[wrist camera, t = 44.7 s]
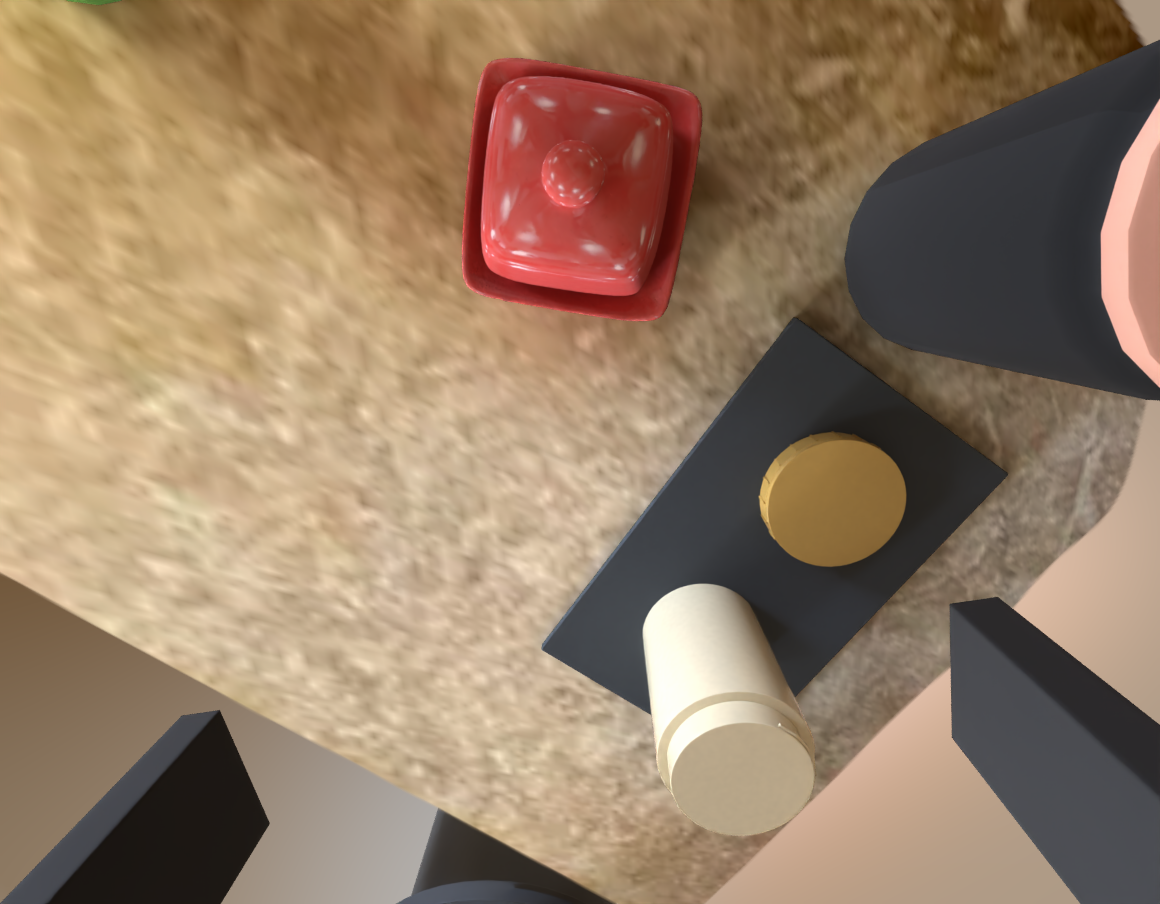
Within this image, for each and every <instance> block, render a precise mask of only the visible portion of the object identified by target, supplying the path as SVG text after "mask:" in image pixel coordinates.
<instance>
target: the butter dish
mask: <svg viewBox="0 0 1160 904" xmlns="http://www.w3.org/2000/svg"><path fill="white" fill-rule="evenodd" d="M701 127H702V108H701V104H700V102H699V100H698V98H697V96H695V95H694V94H693V93H692V92H690V91H687V90H685V89H682V88H679V87H675V86H671V85H666V84H661V83H658V82H654V81H649V80H644V79H638V78H634V77H629V76H623V75H618V74H612V73H608V72H602V71H597V70H591V69H585V68H579V67H574V66H568V65H563V64H557V63H550V62H546V61H539V60H531V59H523V58H503V59H497V60H494V61H491V62H490V63H488V64H487V66H486V67H485V68H484V70H483V72H482V74H481V78H480V81H479V86H478V93H477V96H476V102H475V111H474V118H473V126H472V135H471V145H470V155H469V163H468V175H467V186H466V196H465V208H464V223H463V234H462V236H463V240H462V271H463V277H464V280H465V283H466V285H467V286H468V287H469V288H470V289H471V290H473V291H474V292H476V293H478V294H480V295H483V296H487V297H491V298H498V299H502V300H504V301H509V302H515V303H521V304H525V305H532V306H537V307H543V308H549V309H554V310H560V311H567V312H572V313H580V314H584V315H591V316H597V317H604V318H611V319H618V320H629V321H649V320H655V319H657V318H659V317H661V316H662V315H663V314H664V312H665V310H666V309H667V307H668V304H669V301H670V297H671V293H672V289H673V285H674V281H675V275H676V271H677V267H678V262H679V256H680V250H681V246H682V241H683V235H684V230H685V225H686V220H687V215H688V211H689V203H690V199H691V193H692V188H693V183H694V177H695V170H696V165H697V159H698V152H699V146H700V138H701Z"/></svg>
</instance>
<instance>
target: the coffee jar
mask: <svg viewBox="0 0 1160 904" xmlns="http://www.w3.org/2000/svg"><path fill="white" fill-rule="evenodd" d="M845 266H846V274H847V282H848V289H849V292H850V294H851V296H852V298H853V300H854V302H855V304H856V306H857V308H858V310H859V312H860V314H861V316H862V318H863V319H864V320H865V321H866V322H867V323H868V324H869V325H870V326H871V327H872V328H874V329H875V330H876V331H877V332H878V333H879V334H880V335H881V336H882V337H883V338H885V339H887V340H890V341H892V342H894V343H897V344H899V345H902V346H904V347H907V348H909V349H911V350H916V351H921V352H925V353H930V354H935V355H939V356H944V357H949V358H953V359H958V360H963V361H967V362H972V363H977V364H982V365H986V366H991V367H996V368H1000V369H1005V370H1010V371H1014V372H1019V373H1024V374H1028V375H1033V376H1038V377H1043V378H1047V379H1052V380H1057V381H1061V382H1066V383H1071V384H1075V385H1080V386H1085V387H1089V388H1094V389H1099V390H1103V391H1108V392H1113V393H1118V394H1122V395H1127V396H1132V397H1136V398H1141V399H1146V400H1160V40H1158V41H1156V42H1154V43H1151V44H1149V45H1147V46H1144V47H1142V48H1140V49H1138V50H1135V51H1133V52H1131V53H1128V54H1126V55H1124V56H1122V57H1119V58H1117V59H1115V60H1112V61H1110V62H1108V63H1105V64H1103V65H1101V66H1099V67H1096V68H1094V69H1092V70H1089V71H1087V72H1085V73H1083V74H1080V75H1078V76H1076V77H1073V78H1071V79H1069V80H1067V81H1064V82H1062V83H1060V84H1057V85H1055V86H1053V87H1050V88H1048V89H1046V90H1044V91H1041V92H1039V93H1037V94H1034V95H1032V96H1030V97H1028V98H1025V99H1023V100H1021V101H1018V102H1016V103H1014V104H1011V105H1009V106H1007V107H1005V108H1002V109H1000V110H998V111H995V112H993V113H991V114H989V115H986V116H984V117H982V118H979V119H977V120H975V121H973V122H970V123H968V124H966V125H963V126H961V127H959V128H956V129H954V130H952V131H950V132H947V133H945V134H943V135H940V136H938V137H936V138H934V139H931V140H929V141H927V142H924V143H923V144H921V145H920V146H918V147H916V148H915V149H913V150H912V151H910V152H909V153H907V154H906V155H904V156H902V157H901V158H899V159H898V160H896V161H895V162H893V163H892V164H891V165H890V166H889V167H888V168H887V169H886V171H885V172H884V173H883V174H882V175H881V176H880V177H879V178H878V180H877V181H876V182H875V183H874V184H873V185H872V186H871V187H870V189H869V190H868V191H867V192H866V194H865V196H864V198H863V200H862V202H861V204H860V206H859V209H858V211H857V213H856V215H855V217H854V219H853V221H852V223H851V225H850V231H849V236H848V242H847V248H846V253H845Z"/></svg>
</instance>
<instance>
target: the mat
mask: <svg viewBox="0 0 1160 904" xmlns="http://www.w3.org/2000/svg"><path fill="white" fill-rule="evenodd" d="M831 431H834V432H839V433H846V434H850V435H852V434H855V435H857V436H858V437H860V438H862V439H864V440H865V441H867V442H869V443H873V444H875V445H876V446H878V447H880V448H881V450H882V451H884V452H885V453H886V454H887V455H888V456H889V457H891V459H892V460H893V461H894V462H895V463H896V465H897V466H898V468H899V470H900V471H901V474H902V476H903V479H904V482H905V487H906V505H905V511H904V514H903V517H902V520H901V522H900V524H899V526H898V528H897V529H896V531H895V532H894V534H893V535H892V536H891V538H890V539H889V540H888V541H887V542H886V543H885V544H884V545H883V546H882V547H881V548H880V549H878V550H877V551H876V552H874V553H873V554H871V555H869V556H868V557H866V558H864V559H862V560H859V561H857V562H854V563H851V564H847V565H842V566H833V567H828V566H817V565H812V564H808V563H805V562H803V561H800V560H798V559H796V558H795V557H793V556H791V555H790V554H789V553H787V552H786V551H785V550H784V549H783V548H782V547H781V546H780V545H779V543H778V542H777V541H776V540H774V539H773V537H772V536H771V535H770V533H769V532H768V531H769V529H768V528H767V526H766V524H765V522H764V520H763V518H762V517H761V509H760V498H759V496H760V490H761V486H762V482H763V476H764V477H765V474H766V473H767V471H768V469H769V467H770V466H771V464H772V463H773V462H774V458H775V459H776V458H777V457H778V456H779V455H780V454H781V453H782V452H783V451H784V450H785V449H787V448H788V447H789V446H790V444H794V443H795V442H797V441H799V440H801V439H803V438H806V437H809V436H810V435H816V434H820V433H828V432H831ZM1007 476H1008V473H1007V472H1005V471H1004V470H1003V469H1001V468H1000V467H999V466H997V465H996V464H994V463H993V462H992V461H990V460H989V459H988V458H986V457H985V456H984V455H982V454H981V453H980V452H978V451H977V450H975V449H974V448H973V447H971V446H970V445H969V444H967V443H966V442H965V441H963V440H962V439H961V438H959V437H958V436H957V435H955V434H954V433H952V432H951V431H950V430H948V429H947V428H946V427H944V426H943V425H942V424H940V423H939V422H938V421H936V420H935V419H933V418H932V417H931V416H929V415H928V414H927V413H925V412H924V411H923V410H921V409H920V408H919V407H917V406H916V405H914V404H913V403H912V402H910V401H909V400H908V399H906V398H905V397H904V396H902V395H901V394H900V393H898V392H897V391H895V390H894V389H893V388H891V387H890V386H889V385H887V384H886V383H885V382H883V381H882V380H881V379H879V378H878V377H876V376H875V375H874V374H872V373H871V372H870V371H868V370H867V369H866V368H864V367H863V366H862V365H860V364H859V363H858V362H856V361H855V360H853V359H852V358H851V357H849V356H848V355H847V354H845V353H844V352H843V351H841V350H840V349H839V348H837V347H836V346H834V345H833V344H832V343H830V342H829V341H828V340H826V339H825V338H824V337H822V336H821V335H820V334H818V333H817V332H815V331H814V330H813V329H811V328H810V327H809V326H807V325H806V324H805V323H803V322H802V321H801V320H799V319H798V318H793V319H792V320H791V321H790V323H789V324H788V325H787V326H786V328H785V329H784V330H783V332H782V333H781V334H780V336H779V337H778V338H777V339H776V341H775V342H774V343H773V345H772V346H771V347H770V349H769V350H768V351H767V352H766V354H765V355H764V356H763V358H762V359H761V360H760V362H759V363H758V364H757V365H756V367H755V368H754V369H753V371H752V372H751V373H750V375H749V376H748V377H747V378H746V380H745V381H744V382H743V384H742V385H741V386H740V388H739V389H738V390H737V391H736V393H735V394H734V395H733V397H732V398H731V399H730V401H729V402H728V403H727V404H726V406H725V407H724V408H723V410H722V411H721V412H720V414H719V415H718V416H717V418H716V419H715V420H714V421H713V423H712V424H711V425H710V427H709V428H708V429H707V431H706V432H705V433H704V434H703V436H702V437H701V438H700V440H699V441H698V442H697V444H696V445H695V446H694V447H693V449H692V450H691V451H690V453H689V454H688V455H687V457H686V458H685V459H684V460H683V462H682V463H681V464H680V466H679V467H678V468H677V470H676V471H675V472H674V473H673V475H672V476H671V477H670V479H669V480H668V481H667V483H666V484H665V485H664V486H663V488H662V489H661V490H660V492H659V493H658V494H657V496H656V497H655V498H654V499H653V501H652V502H651V503H650V505H649V506H648V507H647V509H646V510H645V511H644V513H643V514H642V515H641V516H640V518H639V519H638V520H637V522H636V523H635V524H634V526H633V527H632V528H631V529H630V531H629V532H628V533H627V535H626V536H625V537H624V539H623V540H622V541H621V542H620V544H619V545H618V546H617V548H616V549H615V550H614V552H613V553H612V554H611V555H610V557H609V558H608V559H607V561H606V562H605V563H604V565H603V566H602V567H601V568H600V570H599V571H598V572H597V574H596V575H595V576H594V578H593V579H592V580H591V581H590V583H589V584H588V585H587V587H586V588H585V589H584V591H583V592H582V593H581V594H580V596H579V597H578V598H577V600H576V601H575V602H574V604H573V605H572V606H571V608H570V609H569V610H568V611H567V613H566V614H565V615H564V617H563V618H562V619H561V621H560V622H559V623H558V624H557V626H556V627H555V628H554V630H553V631H552V632H551V634H550V635H549V636H548V637H547V639H546V640H545V641H544V643H543V644H542V650H543V651H545V652H546V653H548V654H550V655H551V656H553V657H555V658H556V659H558V660H560V661H562V662H563V663H565V664H567V665H568V666H570V667H572V668H573V669H575V670H577V671H578V672H580V673H582V674H583V675H585V676H587V677H588V678H590V679H592V680H593V681H595V682H597V683H598V684H600V685H602V686H604V687H605V688H607V689H609V690H610V691H612V692H614V693H615V694H617V695H619V696H620V697H622V698H624V699H625V700H627V701H629V702H630V703H632V704H634V705H635V706H637V707H639V708H640V709H642V710H644V711H646V712H647V713H649V714H651V708H650V700H649V691H648V683H647V674H646V666H645V657H644V649H643V640H642V632H643V626H644V623H645V620H646V617H647V615H648V613H649V612H650V610H651V609H652V607H653V606H654V605H655V604H656V603H657V602H658V601H659V600H660V599H661V598H662V597H664V596H665V595H667V594H668V593H670V592H672V591H674V590H676V589H678V588H681V587H684V586H688V585H692V584H713V585H718V586H722V587H725V588H728V589H730V590H732V591H734V592H736V593H738V594H739V595H740V596H742V597H743V598H744V599H745V600H746V601H747V602H748V603H749V604H750V606H751V607H752V608H753V610H754V612H755V614H756V616H757V618H758V620H759V622H760V624H761V626H762V628H763V630H764V633H765V635H766V637H767V639H768V641H769V643H770V645H771V647H772V650H773V652H774V654H775V656H776V658H777V660H778V662H779V664H780V667H781V669H782V671H783V673H784V675H785V677H786V679H787V682H788V684H789V686H790V688H791V690H792V692H793V694H794V696H795V697H796V696H797V695H798V693H799V692H800V691H801V690H802V689H803V688H804V687H805V686H806V685H807V684H808V683H809V682H810V681H811V680H812V679H813V678H814V677H815V676H816V675H817V674H818V673H819V672H820V671H821V670H822V668H823V667H824V666H825V665H826V664H827V663H828V662H829V661H830V660H831V659H832V658H833V657H834V656H835V655H836V654H837V653H838V652H839V651H840V650H841V649H842V648H843V647H844V646H845V644H846V643H847V642H848V641H849V640H850V639H851V638H852V637H853V636H854V635H855V634H856V633H857V632H858V631H859V630H860V629H861V628H862V627H863V626H864V625H865V624H866V623H867V622H868V621H869V619H870V618H871V617H872V616H873V615H874V614H875V613H876V612H877V611H878V610H879V609H880V608H881V607H882V606H883V605H884V604H885V603H886V602H887V601H888V600H889V599H890V598H891V597H892V595H893V594H894V593H895V592H896V591H897V590H898V589H899V588H900V587H901V586H902V585H903V584H904V583H905V582H906V581H907V580H908V579H909V578H910V577H911V576H912V575H913V574H914V573H915V572H916V570H917V569H918V568H919V567H920V566H921V565H922V564H923V563H924V562H925V561H926V560H927V559H928V558H929V557H930V556H931V555H932V554H933V553H934V552H935V551H936V550H937V549H938V548H939V547H940V545H941V544H942V543H943V542H944V541H945V540H946V539H947V538H948V537H949V536H950V535H951V534H952V533H953V532H954V531H955V530H956V529H957V528H958V527H959V526H960V525H961V524H962V523H963V521H964V520H965V519H966V518H967V517H968V516H969V515H970V514H971V513H972V512H973V511H974V510H975V509H976V508H977V507H978V506H979V505H980V504H981V503H982V502H983V501H984V500H985V499H986V498H987V496H988V495H989V494H990V493H991V492H992V491H993V490H994V489H995V488H996V487H997V486H998V485H999V484H1000V483H1001V482H1002V481H1003V480H1004V479H1005V478H1006V477H1007Z"/></svg>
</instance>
